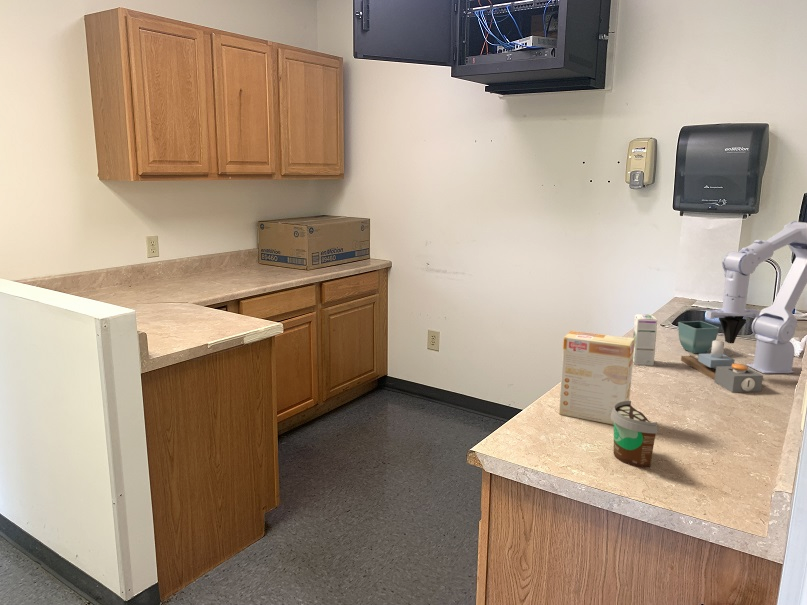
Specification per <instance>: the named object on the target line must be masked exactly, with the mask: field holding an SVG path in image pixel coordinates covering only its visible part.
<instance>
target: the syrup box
mask: <svg viewBox="0 0 807 605" xmlns="http://www.w3.org/2000/svg"><path fill="white" fill-rule="evenodd" d="M657 327H658V319H657V318H656V317H655V315H653V314H641V313H640V314H634V323H633V335H632V338H634V339H635V343H634V355H633V364H634V365H636V366H646V365H647V366H648V367H649V366H650V367H654V366H655V355H656V354H655V353H656V343H657V329H658V328H657Z"/></svg>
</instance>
